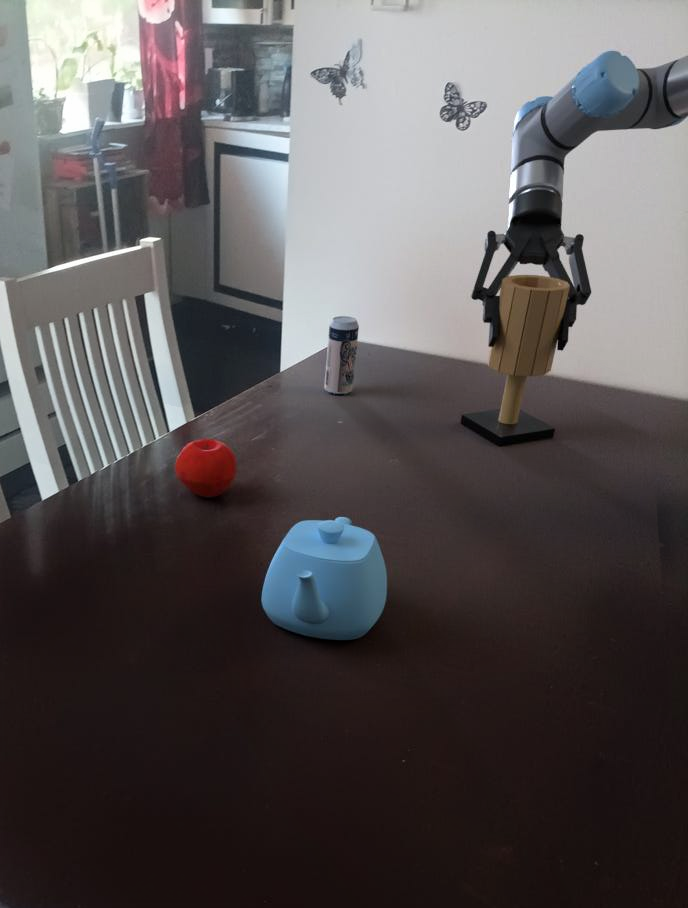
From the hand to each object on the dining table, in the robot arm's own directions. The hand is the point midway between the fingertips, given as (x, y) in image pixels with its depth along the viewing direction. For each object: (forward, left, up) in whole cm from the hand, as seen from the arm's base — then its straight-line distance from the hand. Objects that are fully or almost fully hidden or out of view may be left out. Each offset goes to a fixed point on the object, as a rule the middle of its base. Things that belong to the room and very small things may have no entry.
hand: (527, 343), depth 129 cm
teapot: (-35, +50, -14) cm, 63 cm away
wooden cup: (+3, -2, -4) cm, 5 cm away
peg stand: (+3, -2, -14) cm, 15 cm away
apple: (-2, +50, -14) cm, 53 cm away
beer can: (+28, +14, -14) cm, 34 cm away
